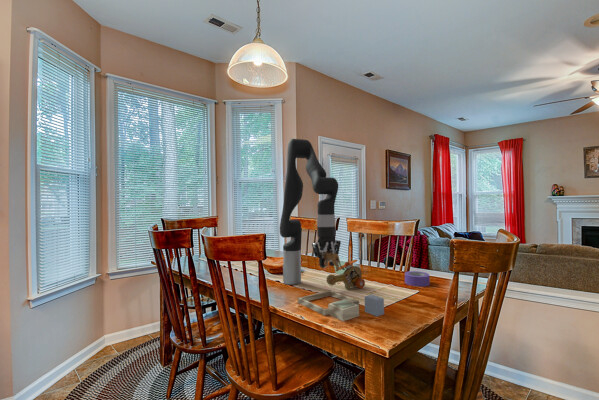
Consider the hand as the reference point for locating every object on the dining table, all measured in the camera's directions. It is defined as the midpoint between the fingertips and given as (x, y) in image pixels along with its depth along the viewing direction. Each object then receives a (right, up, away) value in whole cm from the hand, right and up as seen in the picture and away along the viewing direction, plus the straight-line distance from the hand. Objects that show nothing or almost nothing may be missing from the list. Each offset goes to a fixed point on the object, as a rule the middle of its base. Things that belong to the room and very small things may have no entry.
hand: (327, 266), depth 125 cm
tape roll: (+49, -15, +28) cm, 58 cm away
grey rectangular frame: (+3, -16, -4) cm, 16 cm away
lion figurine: (0, -1, -1) cm, 1 cm away
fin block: (+17, -15, -11) cm, 25 cm away
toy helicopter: (+11, -16, +21) cm, 29 cm away
